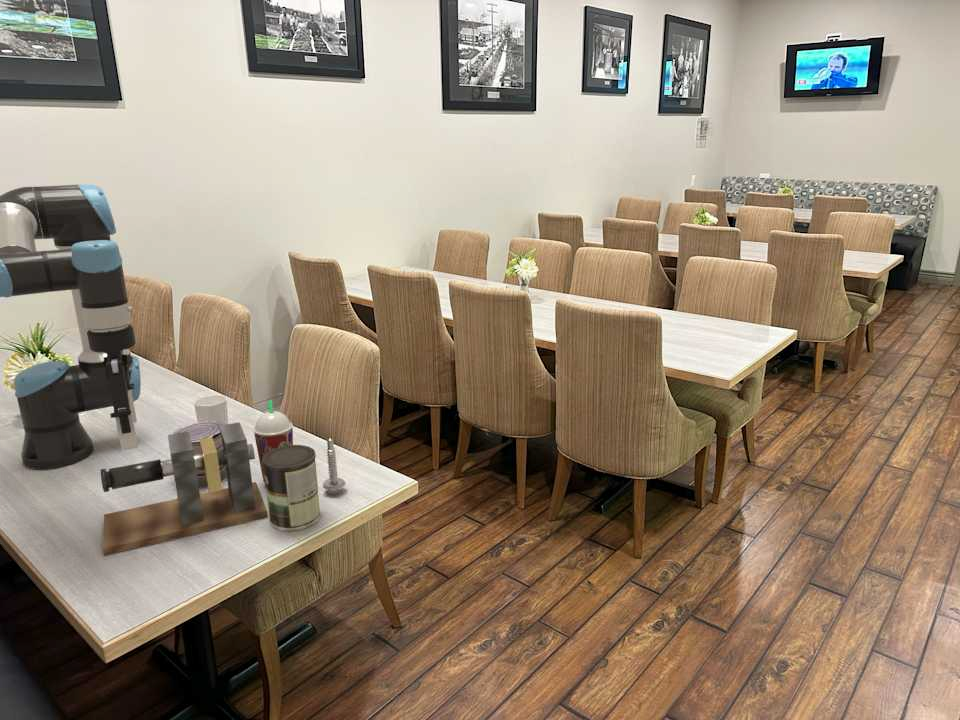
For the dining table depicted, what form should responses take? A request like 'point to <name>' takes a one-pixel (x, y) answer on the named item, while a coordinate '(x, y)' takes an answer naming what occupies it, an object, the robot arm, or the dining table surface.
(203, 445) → the collar
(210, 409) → the white cup
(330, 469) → the screw
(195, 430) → the can
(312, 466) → the coffee can
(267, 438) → the smoothie
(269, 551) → the dining table surface
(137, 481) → the shaft
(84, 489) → the dining table surface
